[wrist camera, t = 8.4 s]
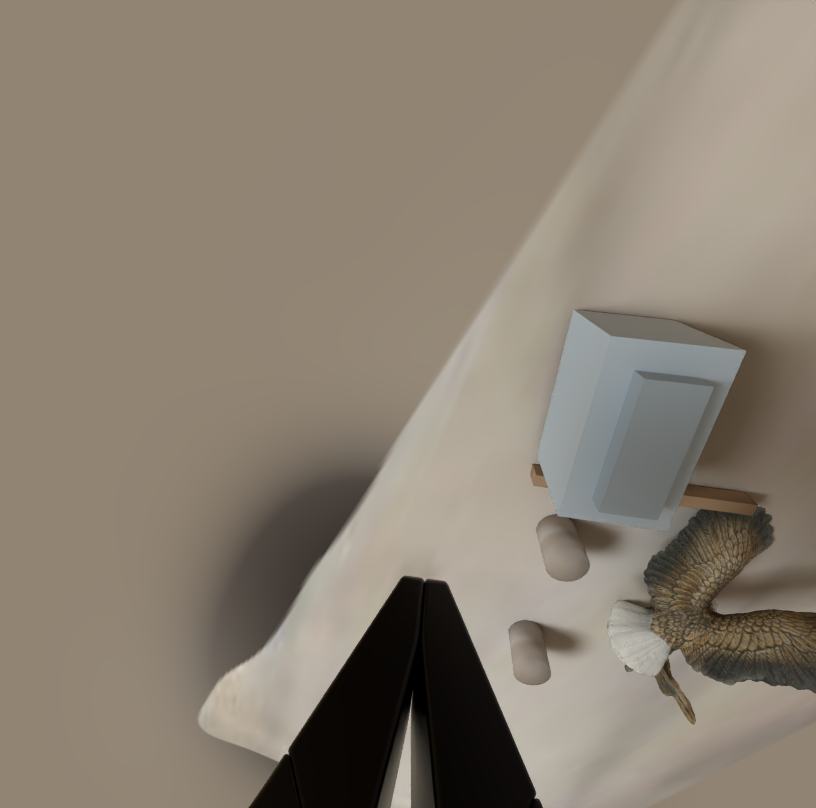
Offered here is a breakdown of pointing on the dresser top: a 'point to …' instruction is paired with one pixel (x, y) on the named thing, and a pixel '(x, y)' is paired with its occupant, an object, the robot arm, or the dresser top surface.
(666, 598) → the eagle figurine
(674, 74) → the dresser top surface
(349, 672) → the robot arm
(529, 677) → the pin seat fixture
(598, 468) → the block
